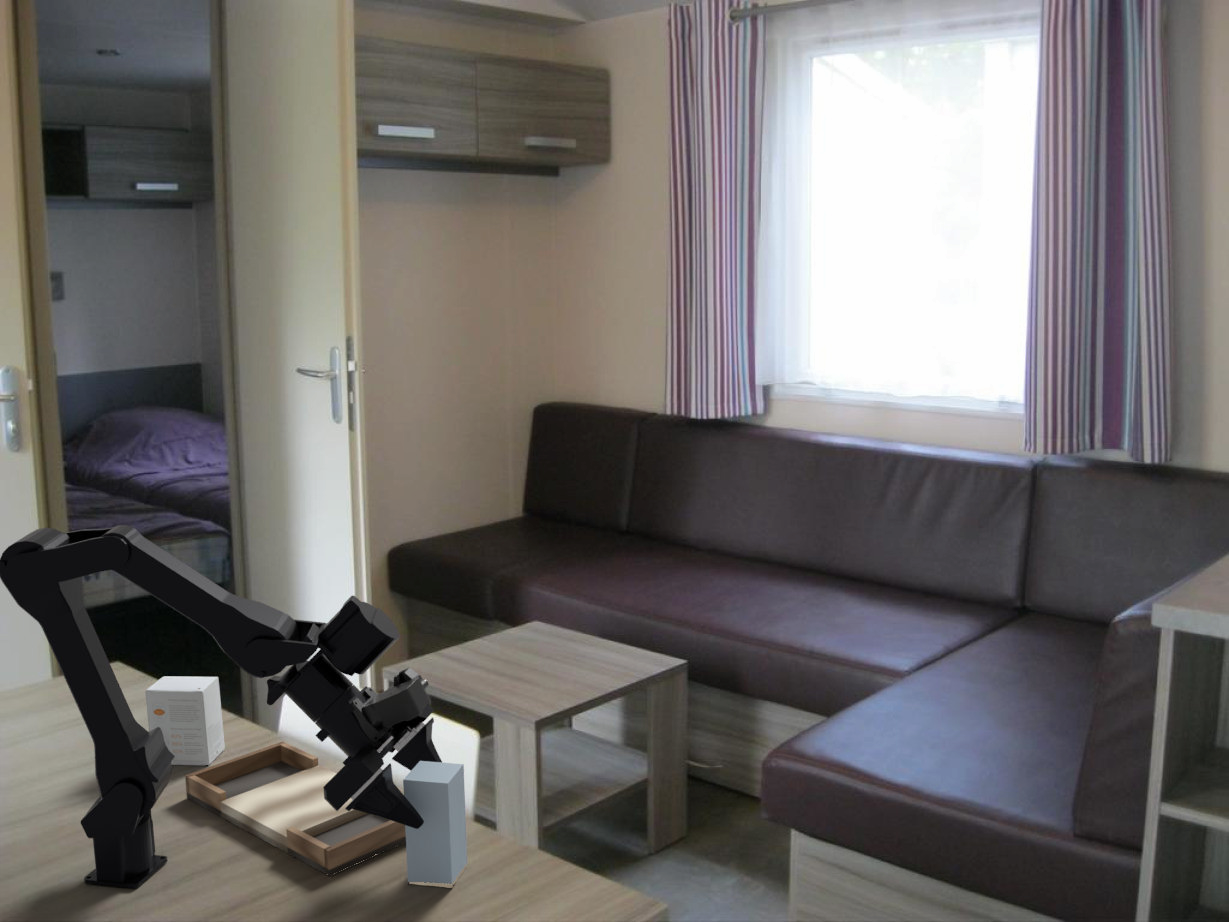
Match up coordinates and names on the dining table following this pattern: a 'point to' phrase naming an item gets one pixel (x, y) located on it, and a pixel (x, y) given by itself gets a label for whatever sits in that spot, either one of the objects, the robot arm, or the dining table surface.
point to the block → (436, 822)
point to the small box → (187, 717)
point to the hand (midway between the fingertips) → (436, 806)
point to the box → (292, 808)
